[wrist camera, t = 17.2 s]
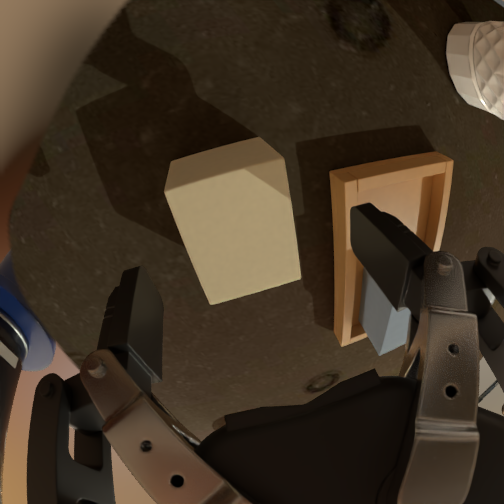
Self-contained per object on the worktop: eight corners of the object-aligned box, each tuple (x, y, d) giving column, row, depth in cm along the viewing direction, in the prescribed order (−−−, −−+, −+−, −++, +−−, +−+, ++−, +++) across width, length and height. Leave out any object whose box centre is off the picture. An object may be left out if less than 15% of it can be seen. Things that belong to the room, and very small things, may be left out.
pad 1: (204, 257, 16) (210, 306, 13) (170, 161, 13) (163, 190, 10) (278, 236, 17) (301, 279, 13) (259, 136, 13) (284, 157, 10)
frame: (333, 331, 23) (341, 347, 22) (328, 170, 15) (344, 182, 13) (411, 299, 24) (421, 312, 22) (435, 150, 15) (454, 159, 14)
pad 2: (358, 320, 22) (379, 356, 19) (362, 267, 19) (392, 305, 15) (400, 302, 22) (423, 334, 19) (411, 249, 19) (443, 282, 16)
